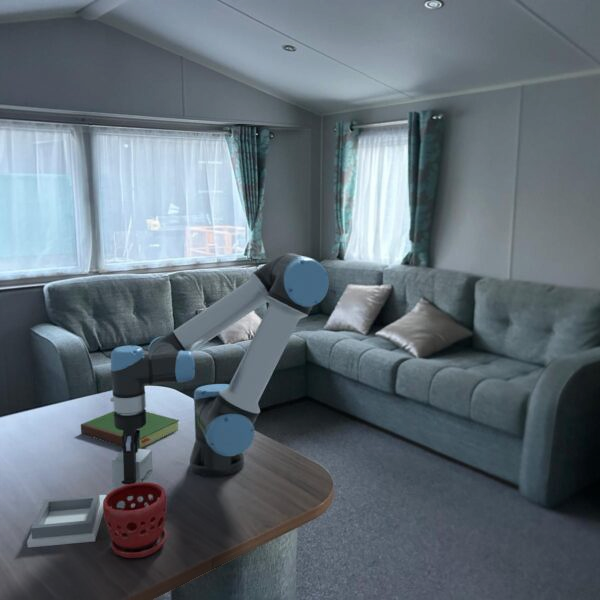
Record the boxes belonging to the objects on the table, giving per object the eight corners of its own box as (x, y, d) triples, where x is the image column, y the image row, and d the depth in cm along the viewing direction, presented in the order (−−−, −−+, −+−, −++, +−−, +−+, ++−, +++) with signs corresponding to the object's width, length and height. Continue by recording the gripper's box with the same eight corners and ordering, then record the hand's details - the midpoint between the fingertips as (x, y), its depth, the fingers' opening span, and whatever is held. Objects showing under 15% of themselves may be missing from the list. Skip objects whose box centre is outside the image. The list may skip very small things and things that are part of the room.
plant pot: (159, 523, 139) (156, 475, 137) (175, 553, 128) (173, 501, 126) (100, 538, 133) (97, 488, 131) (112, 571, 122) (109, 517, 119)
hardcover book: (81, 435, 190) (80, 424, 189) (126, 416, 206) (125, 406, 205) (137, 453, 177) (137, 441, 177) (181, 431, 193) (180, 420, 192)
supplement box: (141, 511, 144) (139, 462, 142) (113, 507, 146) (110, 459, 144) (154, 496, 152) (152, 449, 149) (127, 493, 153) (125, 446, 151)
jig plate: (106, 500, 149) (105, 485, 149) (95, 541, 132) (93, 524, 131) (47, 505, 147) (46, 490, 146) (27, 547, 130) (26, 530, 129)
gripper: (119, 395, 154) (123, 477, 158) (107, 428, 133) (112, 521, 137) (148, 394, 155) (152, 475, 160) (142, 426, 135) (146, 518, 139)
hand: (134, 496), depth 148 cm, fingers closed on supplement box, 9 cm apart
